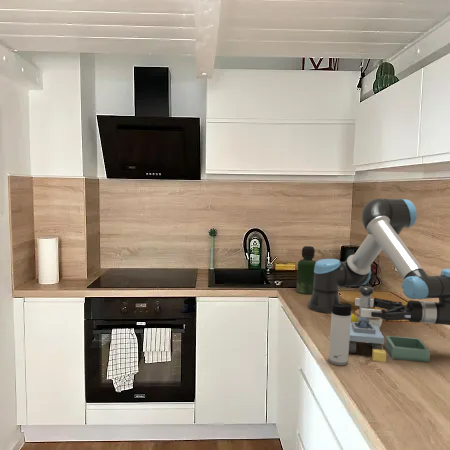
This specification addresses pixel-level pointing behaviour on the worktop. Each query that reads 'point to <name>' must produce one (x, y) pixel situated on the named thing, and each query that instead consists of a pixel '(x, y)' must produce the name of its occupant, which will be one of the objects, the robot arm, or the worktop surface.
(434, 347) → the worktop surface
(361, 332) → the blue recessed platform
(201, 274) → the worktop surface
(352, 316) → the lemon
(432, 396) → the worktop surface
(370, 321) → the lidded jar
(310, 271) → the green bottle
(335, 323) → the travel mug
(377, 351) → the block
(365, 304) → the clear capped cylinder
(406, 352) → the tray
